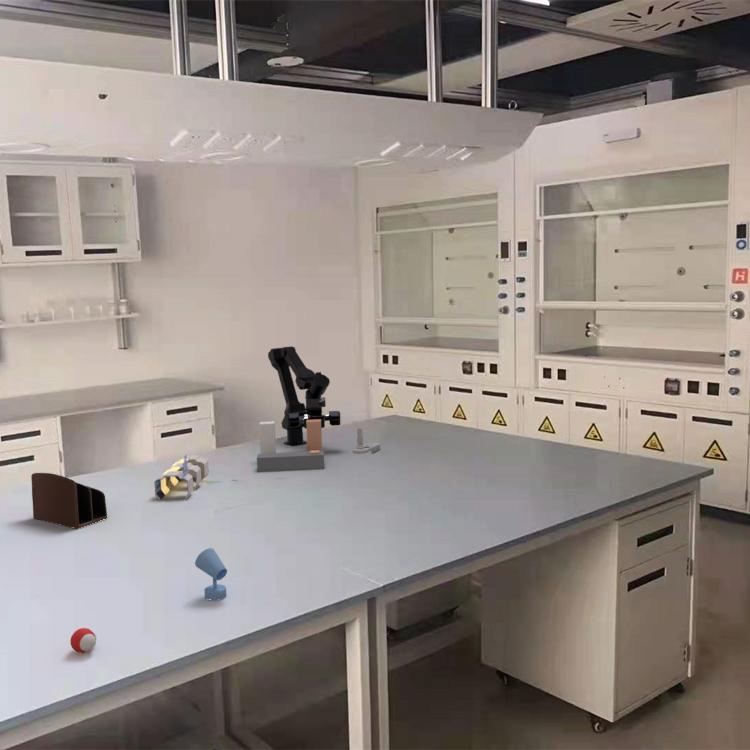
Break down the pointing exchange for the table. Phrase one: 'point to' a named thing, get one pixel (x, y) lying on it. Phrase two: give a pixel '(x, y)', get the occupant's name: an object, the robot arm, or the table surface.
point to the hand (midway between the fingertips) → (314, 439)
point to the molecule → (83, 640)
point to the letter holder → (66, 501)
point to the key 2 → (314, 435)
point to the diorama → (182, 475)
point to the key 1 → (267, 437)
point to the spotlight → (212, 573)
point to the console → (290, 461)
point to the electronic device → (366, 447)
